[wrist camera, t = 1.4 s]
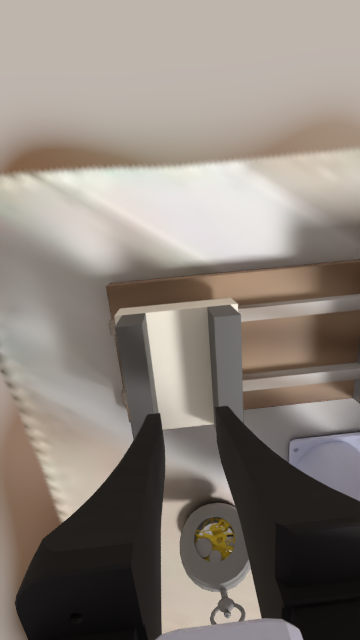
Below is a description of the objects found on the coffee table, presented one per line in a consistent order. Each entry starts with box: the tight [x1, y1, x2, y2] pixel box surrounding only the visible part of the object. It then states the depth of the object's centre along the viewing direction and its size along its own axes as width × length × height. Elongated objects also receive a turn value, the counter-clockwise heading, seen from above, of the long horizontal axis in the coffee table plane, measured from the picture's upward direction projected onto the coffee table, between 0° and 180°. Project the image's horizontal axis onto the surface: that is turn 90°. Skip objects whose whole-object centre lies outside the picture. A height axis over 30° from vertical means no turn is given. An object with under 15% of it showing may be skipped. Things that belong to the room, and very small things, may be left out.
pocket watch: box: [180, 503, 251, 625], centre depth 24 cm, size 8×8×10 cm
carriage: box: [114, 298, 243, 439], centre depth 18 cm, size 9×8×4 cm
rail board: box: [106, 259, 360, 422], centre depth 19 cm, size 12×26×7 cm, turn 95°
